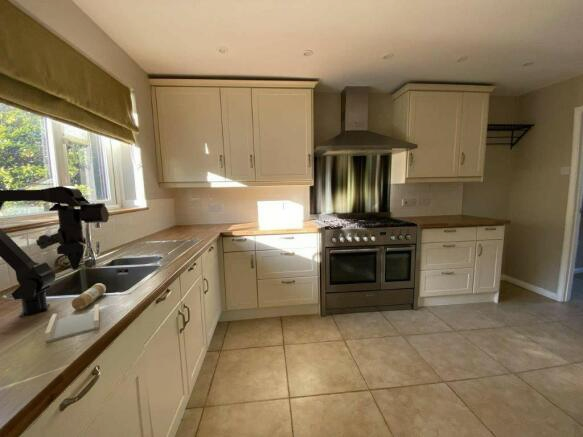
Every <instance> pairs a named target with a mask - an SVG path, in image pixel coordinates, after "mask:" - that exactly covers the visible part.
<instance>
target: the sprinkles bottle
mask: <svg viewBox="0 0 583 437" xmlns="http://www.w3.org/2000/svg"><path fill="white" fill-rule="evenodd" d="M106 290H107V287H106V285H105V284H103V283H99V282H98V283H95V284H94V285H91V287H90V288H88V289H87V290H85V291H84V292H82V293H80V294H79V295H78V296H76V297H74V298H73V299H72V300H71V307H72V308H73V309H74V310H76V311H78V310H79V311H81V310H83V309H85V308H86V307H87V306H89V305H90V304H92V303H93V302H94V301H95V300H97V299H98V298H99V297H101V296H102V295H104V294H105V293H106Z"/></svg>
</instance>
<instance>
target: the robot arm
mask: <svg viewBox="0 0 583 437" xmlns="http://www.w3.org/2000/svg"><path fill="white" fill-rule="evenodd" d="M40 201H41V202H46V203H52V204H54V205H52V206H51V207H50V208H49V209H48V210H49V212H57V215H58V217H57V218H58V226H59V228H58V229H57V232H54V233H51V234H47V233H45V234H43V235H40V236H39V237H38V238H37V239H36V240H35V242H36V246H39V248H40V249H41V250H44V249H46V248H48V247H50V246H54V245H56V244H59V246H57V247H56V253H57V255H64V256H66V257H67V260H68V262H69V264H70V266H71V269H72V270H73V271H76V270H78V269H79V265H80V264H81V261H82V258H83V255H84V252H85V249H86V244H87V239H86V237H85V236H84V231H83V230H84V228H83V222H84V223H85V224H98V223H99V224H100V223H107V222H108V220H109V214H110V213H109V210H108V208H107V207H106V204H105V202H97V203H91V202H89V201H88V199H86V198H85V197H84V195H83V194H82V191H81V190H80V189H79V188H78V187H75V186H66V185H65V186H64V185H60V186H52V187H47V188H42V189H0V211H1V210H2V207H3V205H4V204H5V203H6V202H40ZM0 258H2V260H3V261H5V263H7V264H8V266H10V268H12V270H13V271H14V272H15V276H16V281H17V282H18V284H19V286H18V287H17V288H16V289H15V290H14V291H13V292H11V296H12V298H13V299H14V301H15V300H20V302H21V309H22V310H21V313H20V314H19V315H18V317H19V318H23V317H26V316H33V315H37V314H40V313H44V312H48V311H49V308H50V307H51V304H50V303H48V302H47V296H46V295H47V294H46V291H47V290H49V289H50V288H51V286H52V284H54V282H55V280H56V276H57V275H56V273H55V269H54V268H51V267H50V265H49V264H48V263H47V262H42V263H38V262H36V261H34V260H33V259H32V258H31V257H30V256H29V255H28V254H27V253H26V252H25V251H24V250H23V249H22V248H21V247H20V246H19V245H18V244H17V243H16V242H15V241H14V240H13V239H12V237H10V236H9V235H8V234H7V233H6V232H5V231H4V229H2V228H1V227H0Z"/></svg>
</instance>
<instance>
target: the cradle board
mask: <svg viewBox="0 0 583 437" xmlns="http://www.w3.org/2000/svg"><path fill="white" fill-rule="evenodd" d="M93 309H94V310H93V311H89V312H84V313H80V314H76V315H72V316H68V317H67V316H66V317H64V318H59V319H58V313H53V314H51V317H50V319H49V322H48V325H47V327H46V330H45V332H44V338H45V339H44V340H45V343H46V344H47V343H50V342H54V341H58V340H62V339H65V338H69V337H73V336H76V335H80V334H85V333H89V332H91V331H94V330H98V329H100V305H99V303H97V304H94V308H93Z"/></svg>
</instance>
